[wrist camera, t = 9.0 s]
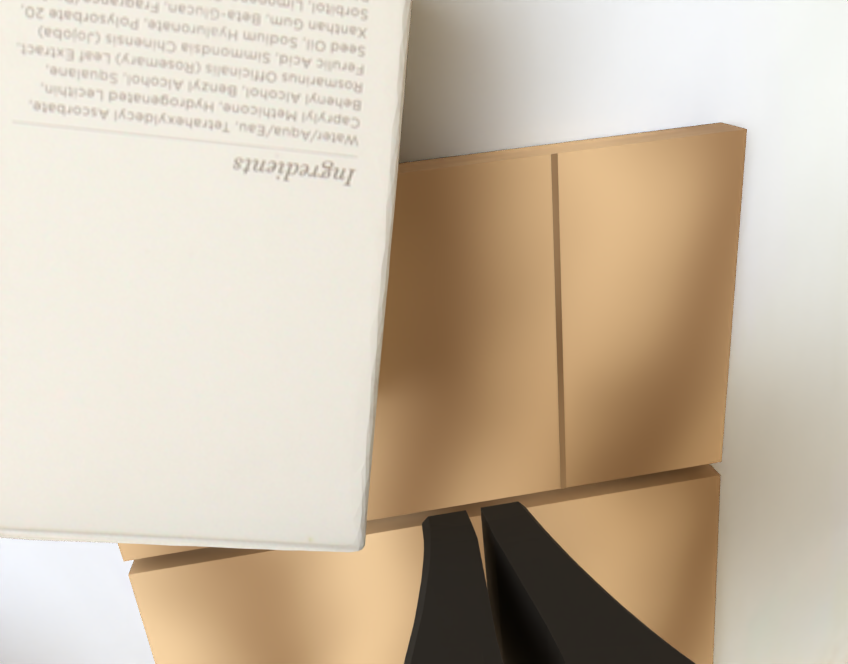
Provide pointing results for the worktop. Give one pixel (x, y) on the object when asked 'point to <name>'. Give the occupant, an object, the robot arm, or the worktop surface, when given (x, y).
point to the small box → (195, 267)
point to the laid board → (554, 318)
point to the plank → (402, 571)
